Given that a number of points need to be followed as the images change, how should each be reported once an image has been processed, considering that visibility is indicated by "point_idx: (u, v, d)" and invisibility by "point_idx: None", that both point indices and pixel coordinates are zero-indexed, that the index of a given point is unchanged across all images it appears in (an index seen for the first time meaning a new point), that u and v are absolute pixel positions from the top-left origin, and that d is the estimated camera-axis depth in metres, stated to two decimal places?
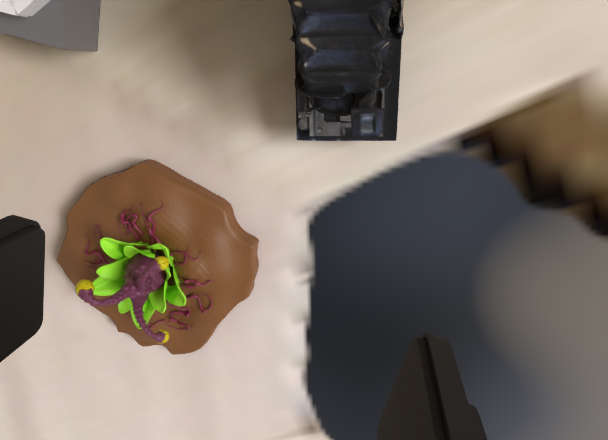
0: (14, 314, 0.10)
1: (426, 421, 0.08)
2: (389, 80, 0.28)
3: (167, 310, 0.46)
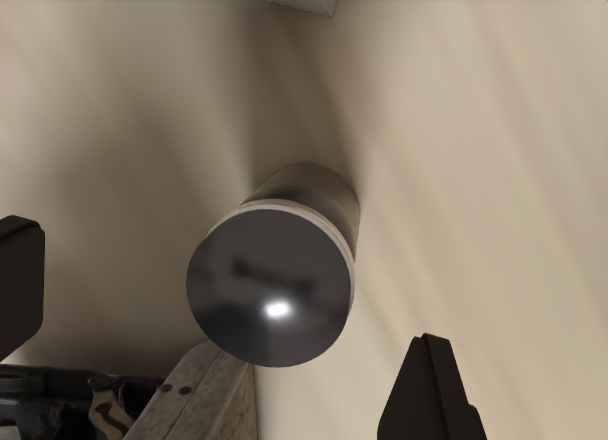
0: (14, 314, 0.10)
1: (426, 421, 0.08)
2: None
3: None
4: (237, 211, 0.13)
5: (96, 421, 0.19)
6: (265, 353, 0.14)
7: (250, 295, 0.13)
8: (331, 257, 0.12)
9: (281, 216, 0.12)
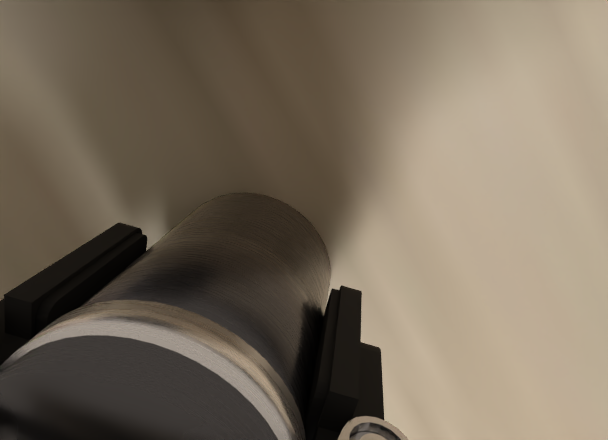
0: None
1: (321, 351, 0.09)
2: None
3: None
4: (46, 337, 0.06)
5: None
6: None
7: None
8: None
9: (123, 362, 0.05)
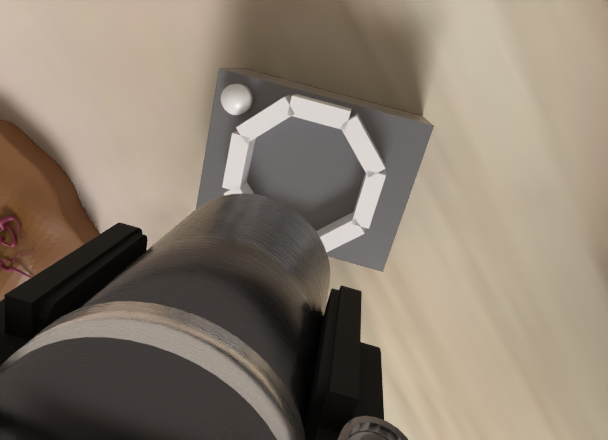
0: None
1: (321, 351, 0.09)
2: None
3: None
4: (44, 339, 0.06)
5: None
6: None
7: None
8: None
9: (122, 364, 0.05)
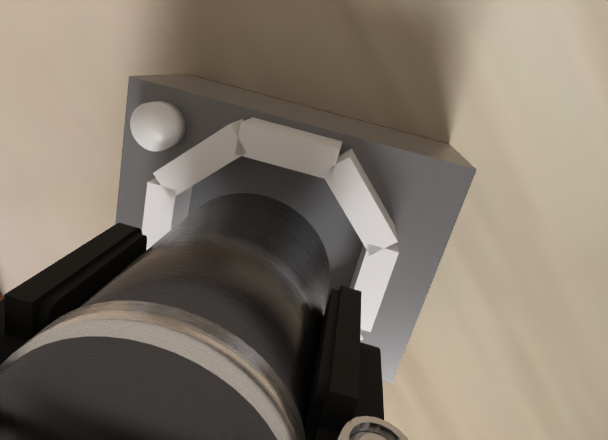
0: None
1: (321, 351, 0.09)
2: None
3: None
4: (44, 338, 0.06)
5: None
6: None
7: None
8: None
9: (122, 364, 0.05)
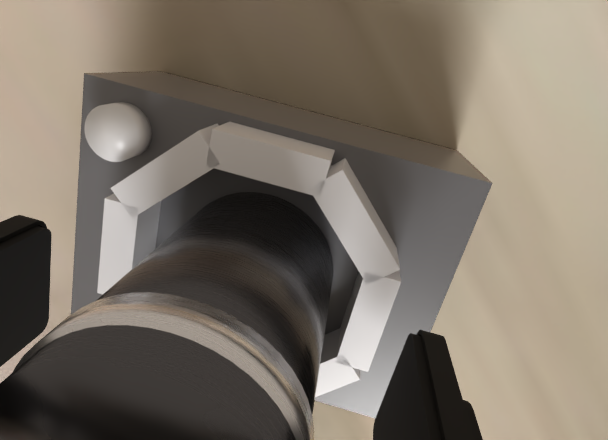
0: (21, 313, 0.10)
1: (420, 416, 0.08)
2: None
3: None
4: (68, 327, 0.06)
5: None
6: None
7: None
8: None
9: (145, 350, 0.06)
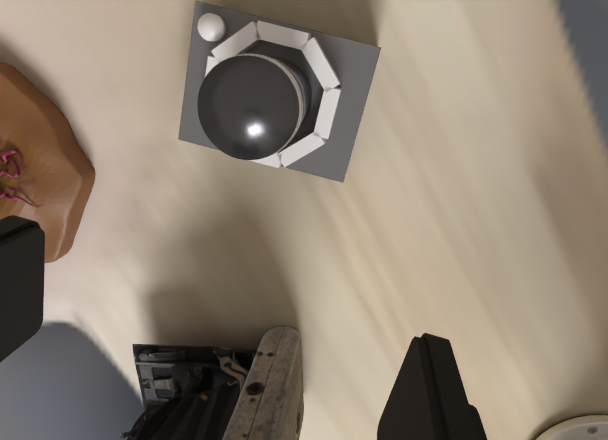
0: (14, 314, 0.10)
1: (426, 421, 0.08)
2: None
3: None
4: (227, 59, 0.21)
5: (227, 371, 0.36)
6: (248, 150, 0.22)
7: (237, 110, 0.21)
8: (285, 79, 0.21)
9: (254, 56, 0.21)
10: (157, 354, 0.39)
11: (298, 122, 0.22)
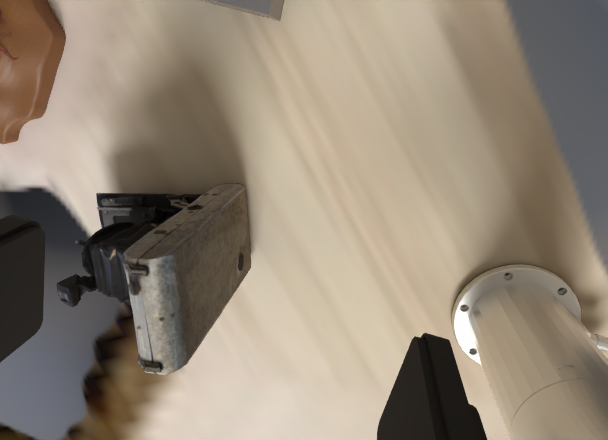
0: (14, 314, 0.10)
1: (426, 421, 0.08)
2: None
3: None
4: None
5: (175, 204, 0.41)
6: None
7: None
8: None
9: None
10: (117, 199, 0.44)
11: None
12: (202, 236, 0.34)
